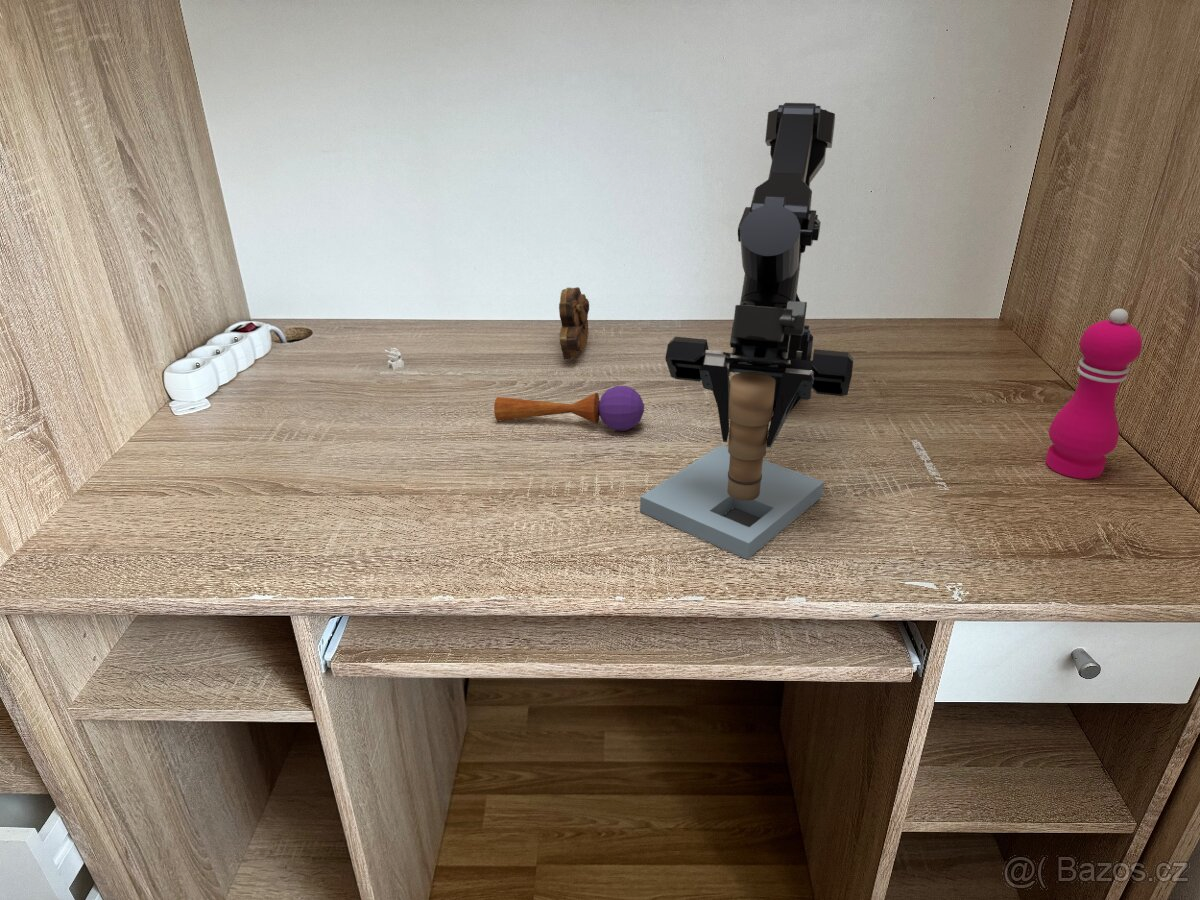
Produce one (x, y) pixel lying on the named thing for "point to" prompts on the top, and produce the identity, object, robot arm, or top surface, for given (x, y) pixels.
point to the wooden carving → (573, 322)
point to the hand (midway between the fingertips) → (746, 443)
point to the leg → (748, 431)
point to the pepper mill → (1094, 399)
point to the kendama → (580, 408)
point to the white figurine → (395, 358)
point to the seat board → (730, 503)
